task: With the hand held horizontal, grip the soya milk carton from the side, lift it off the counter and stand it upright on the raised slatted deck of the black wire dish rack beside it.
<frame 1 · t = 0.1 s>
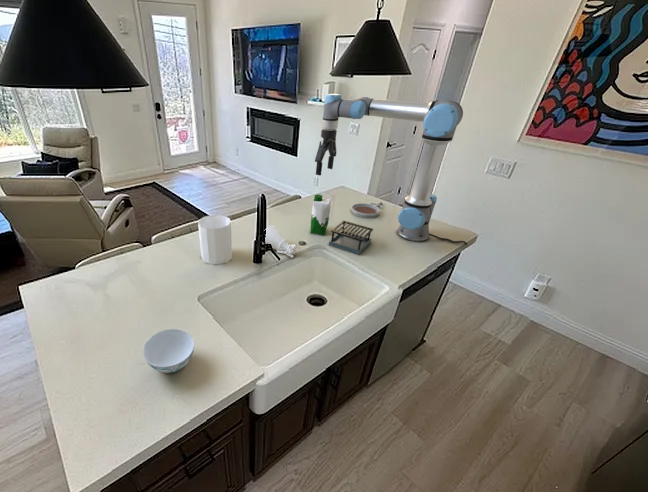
hand: (324, 171, 174), 28 cm above the worktop, tool pointing down, fingers open, 13 cm apart
soya milk: (318, 231, 177), on the worktop
chinaware: (172, 364, 102), on the worktop
dish rack: (349, 243, 166), on the worktop
rocket engine: (277, 252, 159), on the worktop
container: (216, 256, 156), on the worktop
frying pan: (369, 210, 202), on the worktop
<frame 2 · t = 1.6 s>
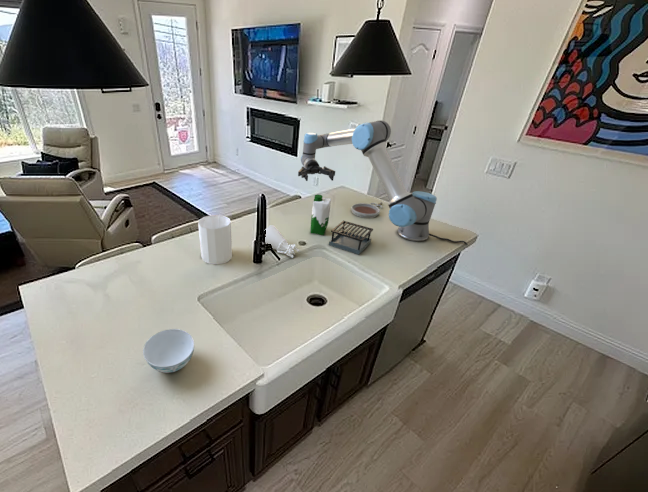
hand: (320, 178, 171), 26 cm above the worktop, tool horizontal, fingers open, 13 cm apart
nothing on the worktop moved.
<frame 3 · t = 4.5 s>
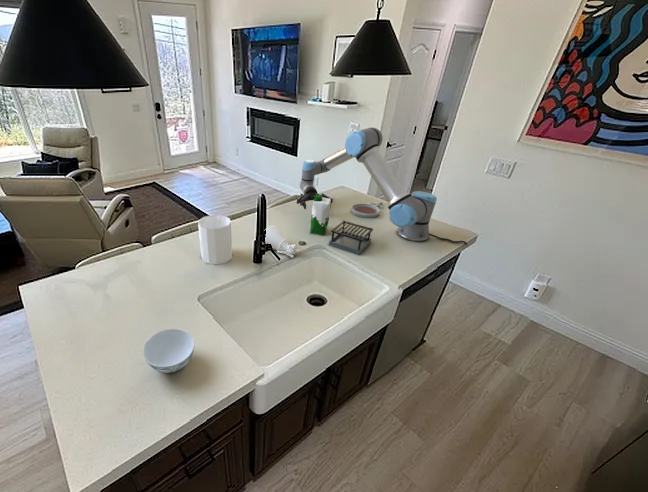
hand: (317, 206, 177), 11 cm above the worktop, tool horizontal, fingers open, 13 cm apart
nothing on the worktop moved.
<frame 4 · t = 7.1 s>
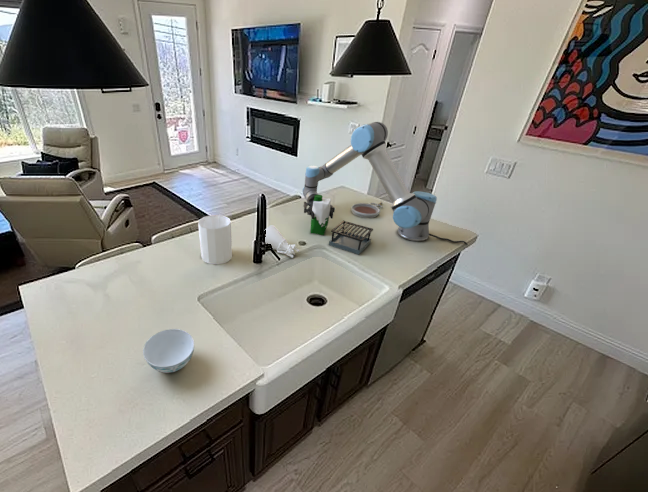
hand: (322, 216, 167), 11 cm above the worktop, tool horizontal, fingers closed on soya milk, 9 cm apart
soya milk: (318, 231, 177), on the worktop, touching gripper
everything else where it was.
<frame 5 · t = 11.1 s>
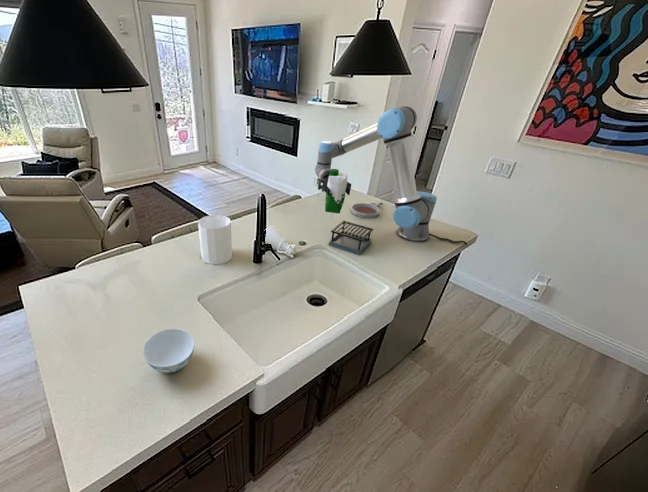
hand: (339, 192, 155), 26 cm above the worktop, tool horizontal, fingers closed on soya milk, 9 cm apart
soya milk: (333, 210, 165), point 15 cm above the worktop, touching gripper
everything else where it was.
when the fingers open (19 cm above the worktop, at t = 15.3 s): soya milk stays where it is, resting on dish rack.
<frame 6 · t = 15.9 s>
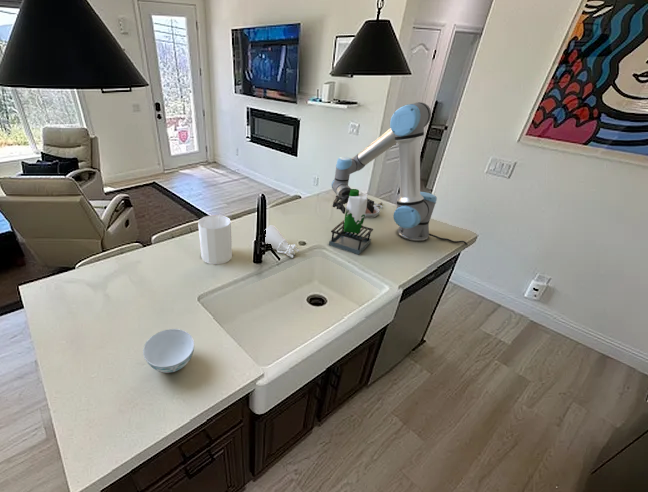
hand: (358, 210, 153), 20 cm above the worktop, tool horizontal, fingers open, 13 cm apart
soya milk: (352, 230, 162), point 8 cm above the worktop, touching dish rack
everything else where it was.
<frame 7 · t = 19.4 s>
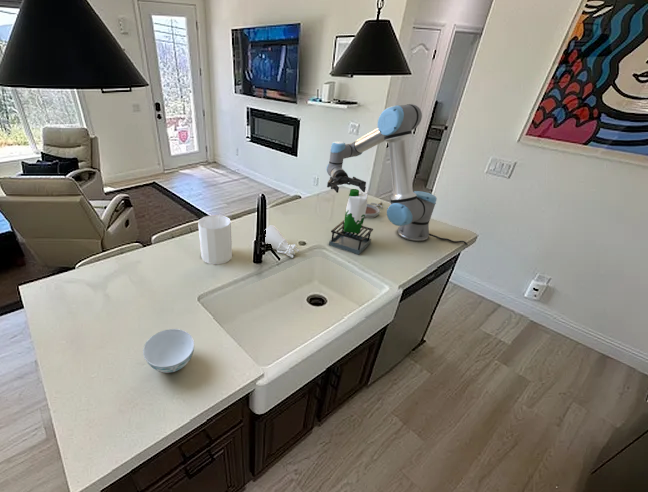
hand: (351, 189, 163), 24 cm above the worktop, tool horizontal, fingers open, 13 cm apart
nothing on the worktop moved.
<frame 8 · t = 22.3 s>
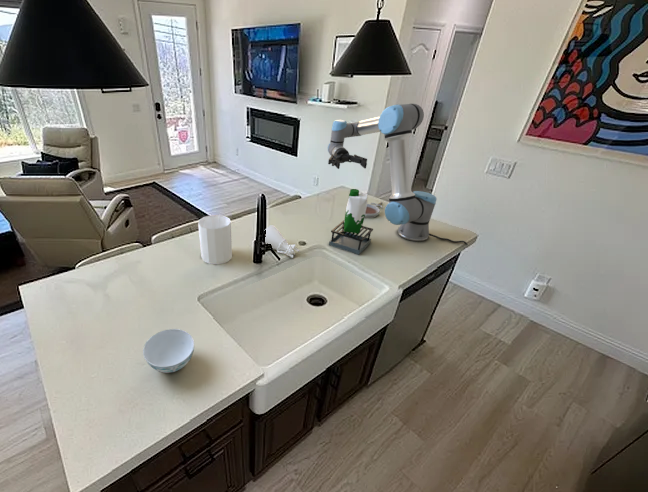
hand: (352, 165, 163), 34 cm above the worktop, tool horizontal, fingers open, 13 cm apart
nothing on the worktop moved.
at the end: soya milk inside the target area on the dish rack (0.1 cm from its centre), point 7.8 cm above the dish rack's base; soya milk tilted 0°; the gripper is holding nothing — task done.
